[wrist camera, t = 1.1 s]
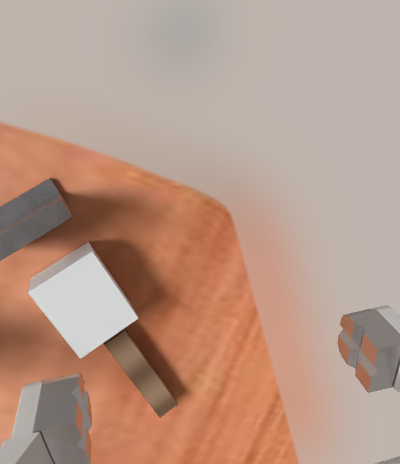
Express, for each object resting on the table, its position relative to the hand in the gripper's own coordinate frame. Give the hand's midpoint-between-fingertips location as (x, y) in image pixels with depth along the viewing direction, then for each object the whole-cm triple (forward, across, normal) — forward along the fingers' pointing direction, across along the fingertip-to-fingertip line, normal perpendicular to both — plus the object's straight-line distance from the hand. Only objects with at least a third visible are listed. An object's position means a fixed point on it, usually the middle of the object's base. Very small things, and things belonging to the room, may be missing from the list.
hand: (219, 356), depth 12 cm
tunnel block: (+34, -10, -20) cm, 41 cm away
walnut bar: (+32, -4, -33) cm, 46 cm away
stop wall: (+36, -14, -10) cm, 40 cm away
